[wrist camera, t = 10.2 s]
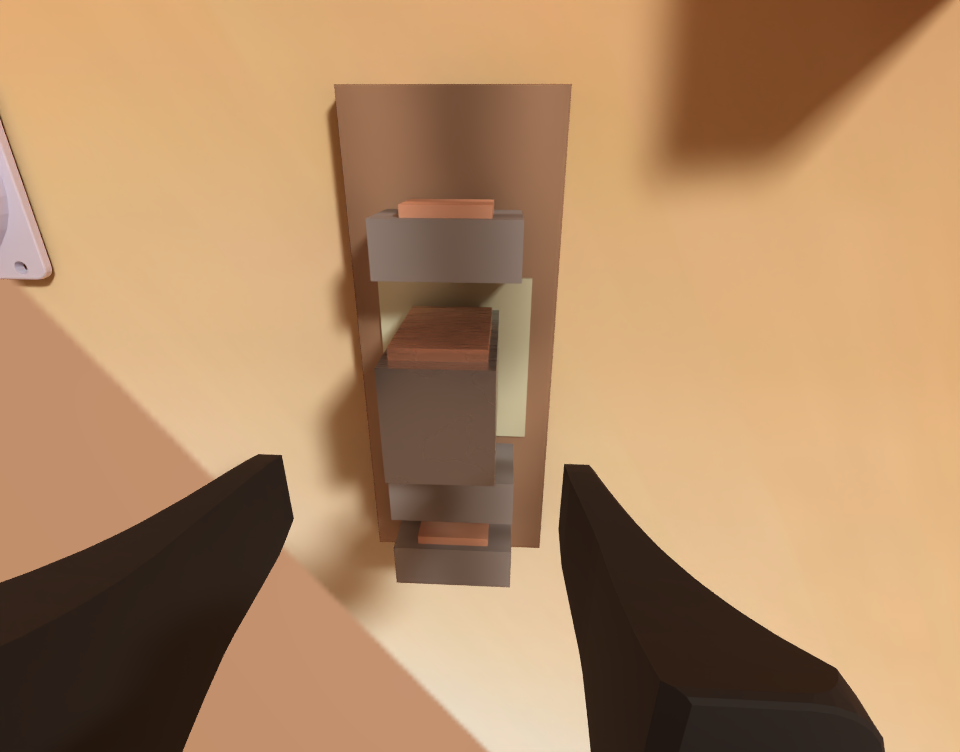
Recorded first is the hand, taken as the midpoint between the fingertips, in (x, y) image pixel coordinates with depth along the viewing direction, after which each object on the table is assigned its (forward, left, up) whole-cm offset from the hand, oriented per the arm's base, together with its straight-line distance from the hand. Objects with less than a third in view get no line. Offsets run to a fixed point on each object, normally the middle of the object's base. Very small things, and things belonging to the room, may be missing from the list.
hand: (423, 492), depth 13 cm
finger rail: (0, 0, -10) cm, 10 cm away
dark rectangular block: (0, 0, -9) cm, 9 cm away
